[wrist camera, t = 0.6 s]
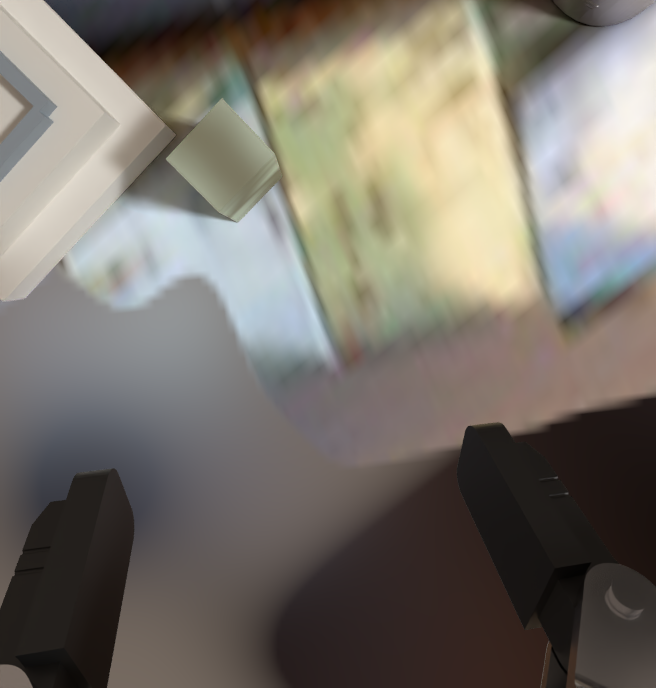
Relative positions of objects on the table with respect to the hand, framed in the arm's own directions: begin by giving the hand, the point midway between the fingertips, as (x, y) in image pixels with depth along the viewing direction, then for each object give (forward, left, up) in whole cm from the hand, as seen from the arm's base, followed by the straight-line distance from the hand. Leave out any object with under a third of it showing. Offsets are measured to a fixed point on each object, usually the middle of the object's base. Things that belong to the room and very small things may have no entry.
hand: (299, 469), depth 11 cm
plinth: (+5, -24, -25) cm, 35 cm away
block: (-4, -11, -25) cm, 28 cm away
